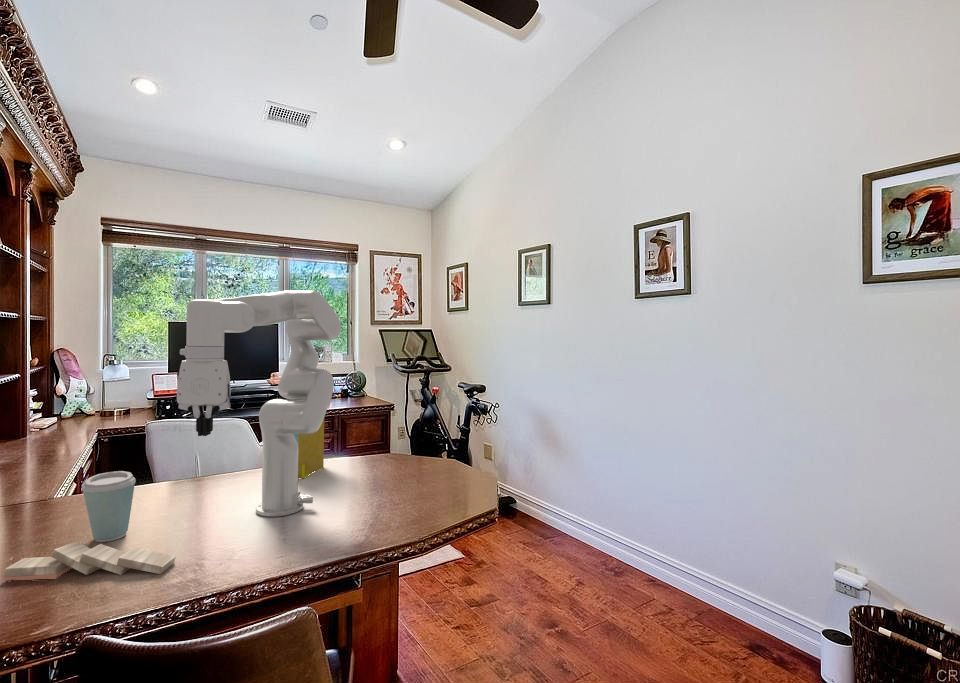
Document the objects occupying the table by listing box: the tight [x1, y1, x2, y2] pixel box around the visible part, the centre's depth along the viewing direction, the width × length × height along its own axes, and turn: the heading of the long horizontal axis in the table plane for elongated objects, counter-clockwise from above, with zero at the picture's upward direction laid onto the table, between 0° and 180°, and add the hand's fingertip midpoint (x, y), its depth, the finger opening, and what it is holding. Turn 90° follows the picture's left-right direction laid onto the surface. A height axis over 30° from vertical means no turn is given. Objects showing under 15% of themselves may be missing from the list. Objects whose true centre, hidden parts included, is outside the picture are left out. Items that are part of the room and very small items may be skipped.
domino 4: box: [80, 543, 132, 576], centre depth 105 cm, size 2×5×9 cm
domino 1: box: [4, 556, 68, 578], centre depth 102 cm, size 2×5×9 cm
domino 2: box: [5, 566, 73, 580], centre depth 102 cm, size 2×5×9 cm
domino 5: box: [117, 546, 177, 575], centre depth 105 cm, size 2×5×9 cm
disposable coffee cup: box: [81, 470, 137, 543], centre depth 121 cm, size 11×11×15 cm
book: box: [292, 418, 325, 479], centre depth 181 cm, size 17×7×25 cm, turn 168°
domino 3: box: [50, 541, 102, 576], centre depth 104 cm, size 2×5×9 cm
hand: (204, 434), depth 113 cm, fingers closed
